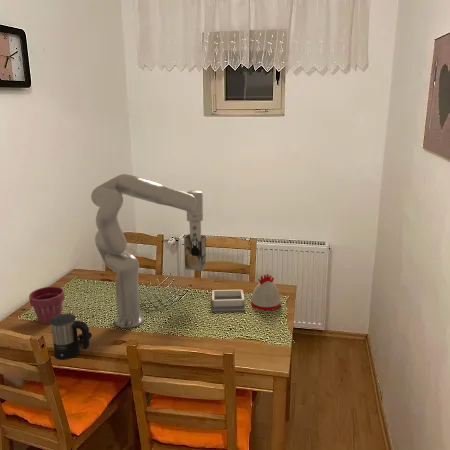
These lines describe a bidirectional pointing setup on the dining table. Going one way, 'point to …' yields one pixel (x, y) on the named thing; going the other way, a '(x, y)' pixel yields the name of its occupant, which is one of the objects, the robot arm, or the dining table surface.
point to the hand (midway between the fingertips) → (195, 252)
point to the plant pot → (47, 303)
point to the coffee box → (195, 261)
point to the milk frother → (68, 336)
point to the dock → (228, 301)
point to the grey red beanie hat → (265, 295)
